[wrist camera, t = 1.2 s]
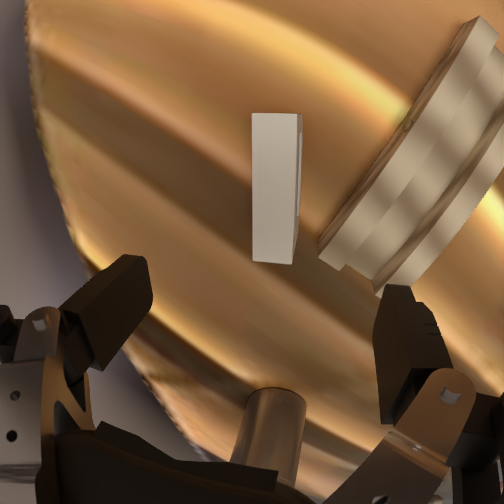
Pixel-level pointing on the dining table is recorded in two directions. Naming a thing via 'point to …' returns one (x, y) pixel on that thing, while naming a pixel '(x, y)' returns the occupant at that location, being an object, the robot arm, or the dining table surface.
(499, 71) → the picture ledge
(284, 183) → the tapered grey panel
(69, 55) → the dining table surface
